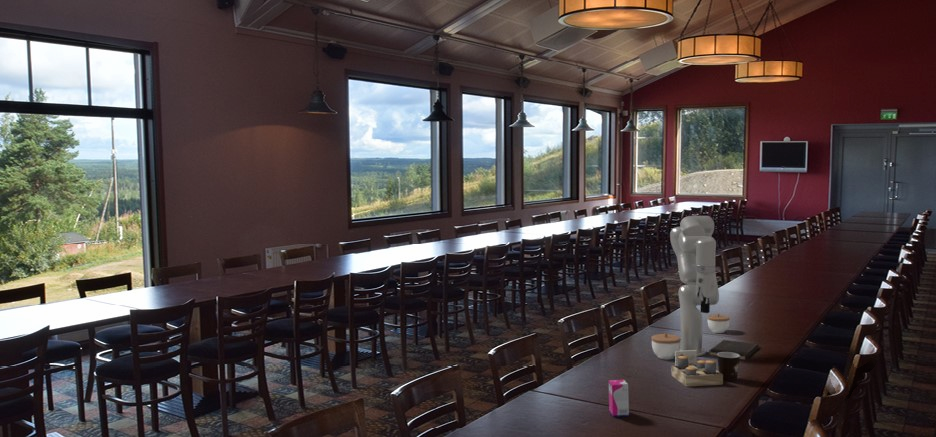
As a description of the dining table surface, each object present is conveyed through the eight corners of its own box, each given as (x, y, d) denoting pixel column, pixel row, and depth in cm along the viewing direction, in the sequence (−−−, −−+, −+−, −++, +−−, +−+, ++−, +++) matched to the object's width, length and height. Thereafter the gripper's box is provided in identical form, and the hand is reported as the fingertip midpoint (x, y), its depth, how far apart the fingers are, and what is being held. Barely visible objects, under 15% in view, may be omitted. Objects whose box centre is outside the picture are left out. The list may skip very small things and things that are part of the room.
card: (675, 372, 289) (675, 351, 288) (696, 371, 289) (696, 350, 289) (675, 372, 288) (675, 351, 287) (696, 371, 289) (696, 350, 288)
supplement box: (624, 410, 246) (624, 379, 245) (629, 416, 240) (628, 384, 239) (608, 411, 246) (608, 379, 245) (612, 417, 240) (612, 384, 239)
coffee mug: (725, 383, 272) (725, 358, 272) (712, 377, 281) (712, 353, 280) (750, 380, 275) (751, 355, 275) (737, 374, 284) (737, 350, 283)
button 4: (703, 372, 276) (703, 360, 276) (713, 372, 277) (713, 359, 276) (707, 375, 272) (707, 363, 272) (717, 375, 272) (717, 362, 272)
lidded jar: (732, 334, 349) (732, 315, 348) (711, 334, 349) (711, 316, 349) (725, 329, 360) (725, 311, 359) (704, 329, 360) (704, 311, 359)
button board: (671, 375, 285) (671, 365, 285) (706, 373, 286) (706, 363, 286) (685, 386, 270) (685, 376, 270) (722, 384, 271) (722, 374, 271)
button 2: (683, 379, 276) (683, 367, 275) (693, 378, 276) (693, 366, 276) (687, 382, 272) (687, 370, 271) (698, 381, 272) (698, 369, 272)
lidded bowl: (681, 361, 304) (681, 337, 303) (652, 360, 306) (652, 336, 305) (679, 353, 316) (679, 330, 315) (650, 353, 318) (650, 329, 318)
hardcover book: (708, 355, 314) (708, 350, 313) (723, 344, 332) (723, 339, 332) (745, 360, 304) (745, 355, 304) (758, 348, 323) (758, 344, 322)
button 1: (675, 368, 284) (675, 356, 283) (685, 367, 284) (685, 355, 284) (679, 371, 279) (679, 358, 279) (689, 370, 280) (689, 358, 279)
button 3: (694, 372, 284) (694, 360, 284) (704, 371, 285) (704, 359, 284) (699, 375, 280) (699, 363, 280) (709, 374, 281) (709, 362, 280)
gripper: (707, 273, 277) (706, 317, 279) (721, 266, 288) (720, 309, 290) (689, 271, 282) (688, 315, 284) (703, 265, 293) (703, 307, 295)
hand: (705, 312), depth 287 cm, fingers closed
